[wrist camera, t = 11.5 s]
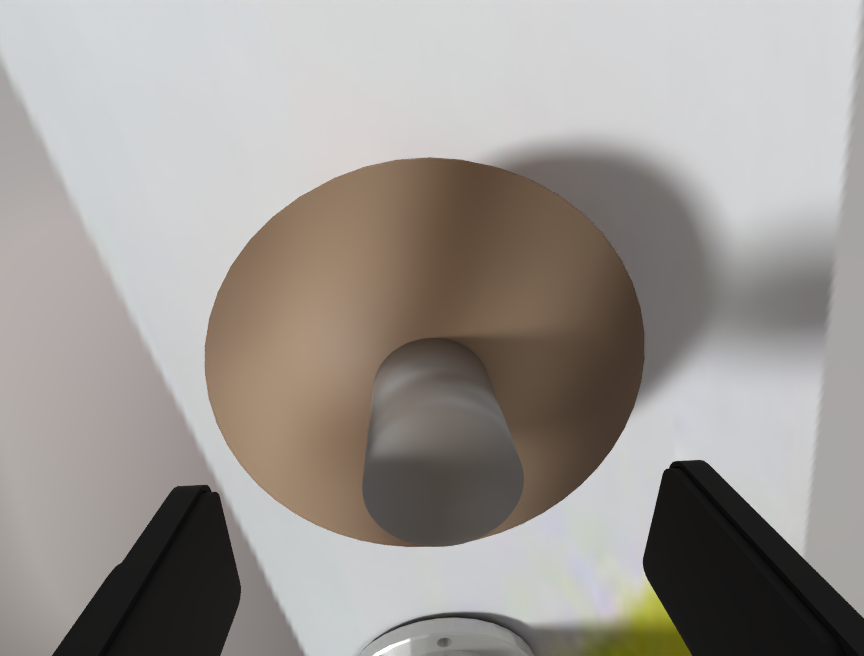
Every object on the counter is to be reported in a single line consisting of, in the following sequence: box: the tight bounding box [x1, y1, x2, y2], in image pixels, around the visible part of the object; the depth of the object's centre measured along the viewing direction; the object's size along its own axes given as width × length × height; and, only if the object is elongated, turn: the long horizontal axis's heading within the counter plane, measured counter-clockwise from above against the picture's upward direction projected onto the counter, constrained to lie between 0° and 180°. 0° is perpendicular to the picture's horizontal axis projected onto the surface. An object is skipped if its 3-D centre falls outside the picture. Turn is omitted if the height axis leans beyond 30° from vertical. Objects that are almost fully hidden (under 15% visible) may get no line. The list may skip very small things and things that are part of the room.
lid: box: [205, 158, 644, 547], centre depth 12 cm, size 13×13×5 cm
